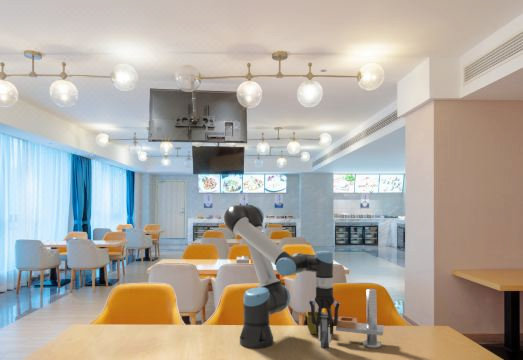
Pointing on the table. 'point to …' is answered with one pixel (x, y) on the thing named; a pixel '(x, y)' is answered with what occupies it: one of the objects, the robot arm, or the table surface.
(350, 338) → the table surface
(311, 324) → the flower pot
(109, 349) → the table surface
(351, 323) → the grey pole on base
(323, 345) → the pin
